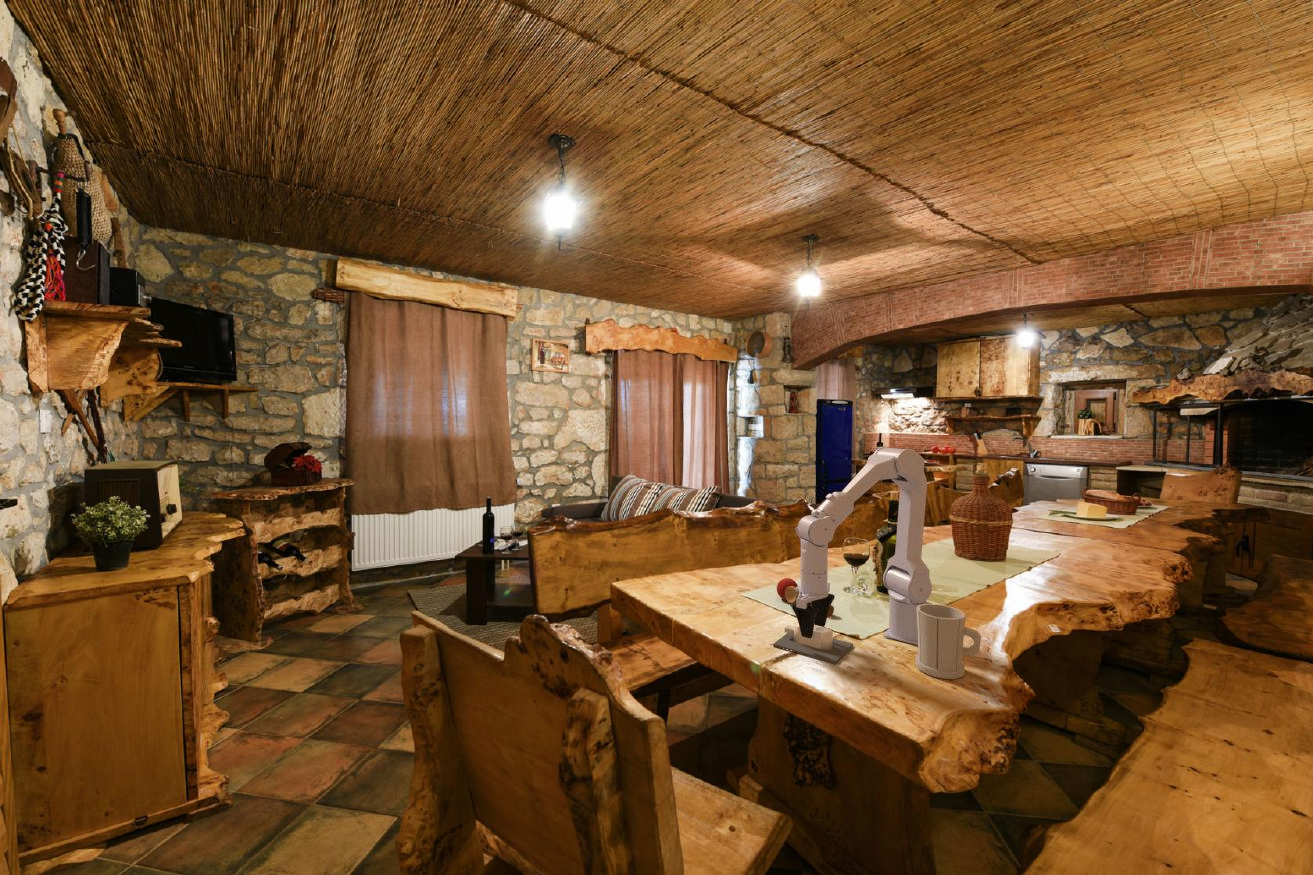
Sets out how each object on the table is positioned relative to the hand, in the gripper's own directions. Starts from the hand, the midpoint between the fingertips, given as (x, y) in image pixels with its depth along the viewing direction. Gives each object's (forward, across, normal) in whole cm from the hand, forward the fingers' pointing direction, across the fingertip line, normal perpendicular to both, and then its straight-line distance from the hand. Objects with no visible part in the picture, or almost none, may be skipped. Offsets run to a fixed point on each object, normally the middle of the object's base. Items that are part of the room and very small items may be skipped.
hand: (813, 631), depth 118 cm
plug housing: (+3, 0, 0) cm, 3 cm away
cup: (+4, -6, +25) cm, 26 cm away
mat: (+3, 0, 0) cm, 3 cm away
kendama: (+4, -23, -12) cm, 26 cm away
